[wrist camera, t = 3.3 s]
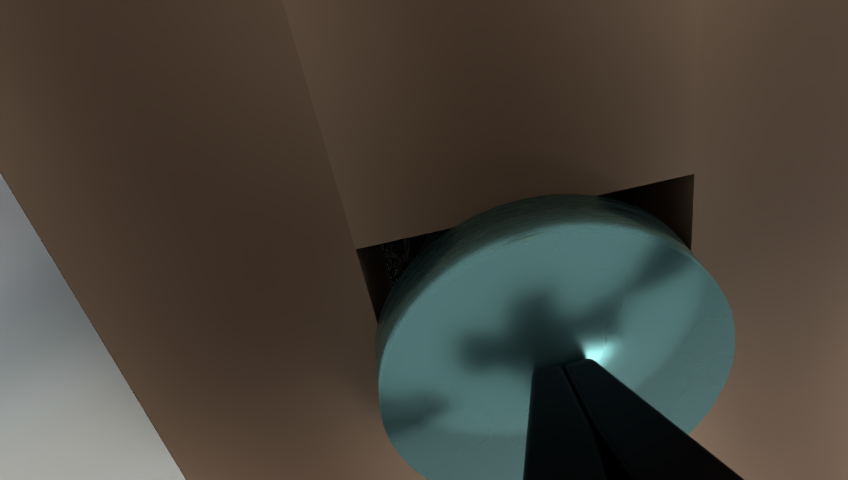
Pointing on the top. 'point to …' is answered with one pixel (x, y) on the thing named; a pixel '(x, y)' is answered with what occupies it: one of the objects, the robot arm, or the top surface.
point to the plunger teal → (541, 327)
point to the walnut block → (420, 194)
